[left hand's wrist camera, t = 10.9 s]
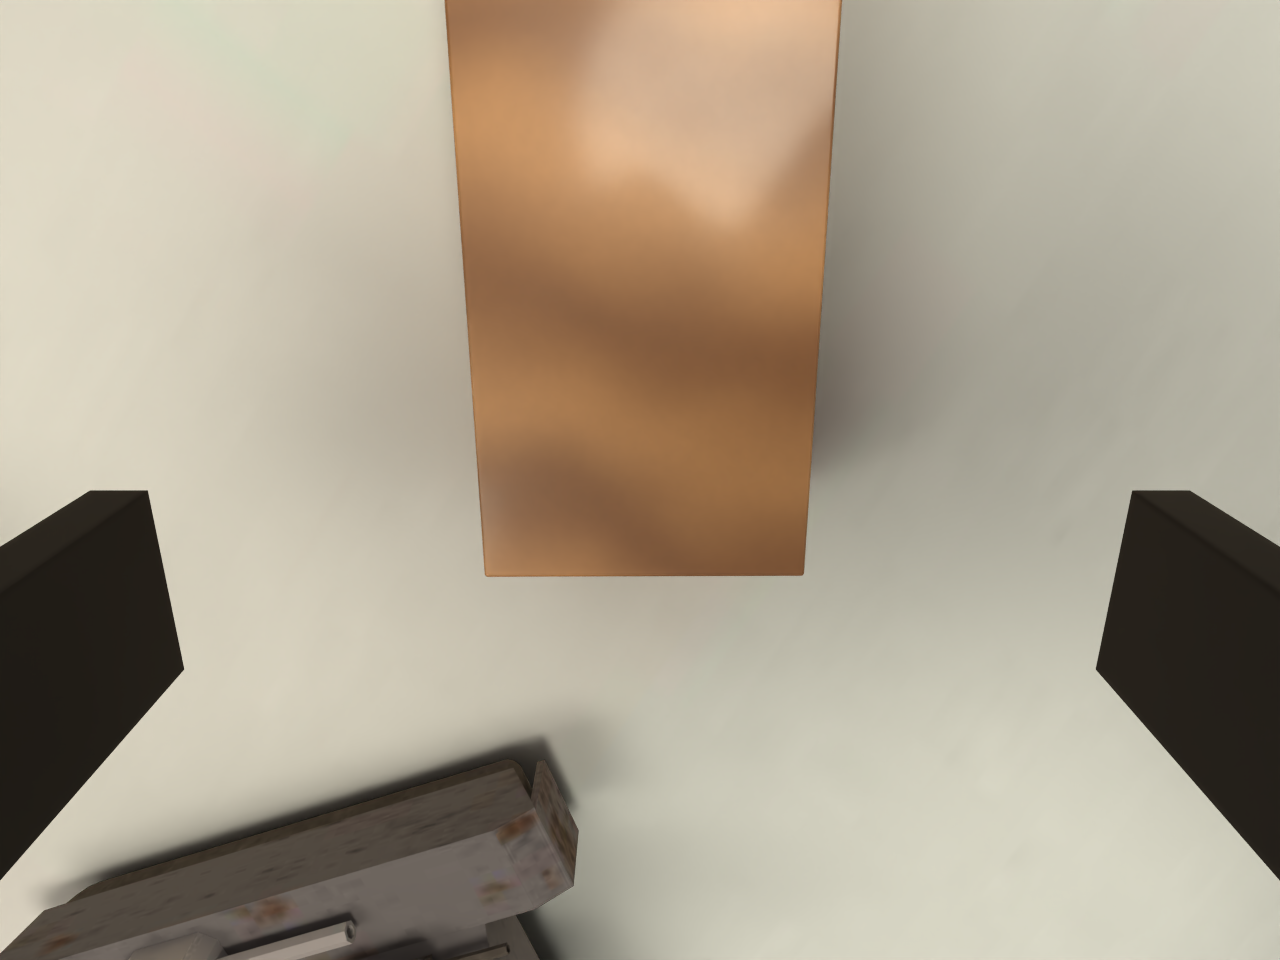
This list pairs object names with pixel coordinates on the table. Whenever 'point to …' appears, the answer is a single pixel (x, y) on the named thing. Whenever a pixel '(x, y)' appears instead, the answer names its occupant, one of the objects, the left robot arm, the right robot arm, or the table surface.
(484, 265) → the thick board
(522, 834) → the toy
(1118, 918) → the table surface
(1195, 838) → the table surface
